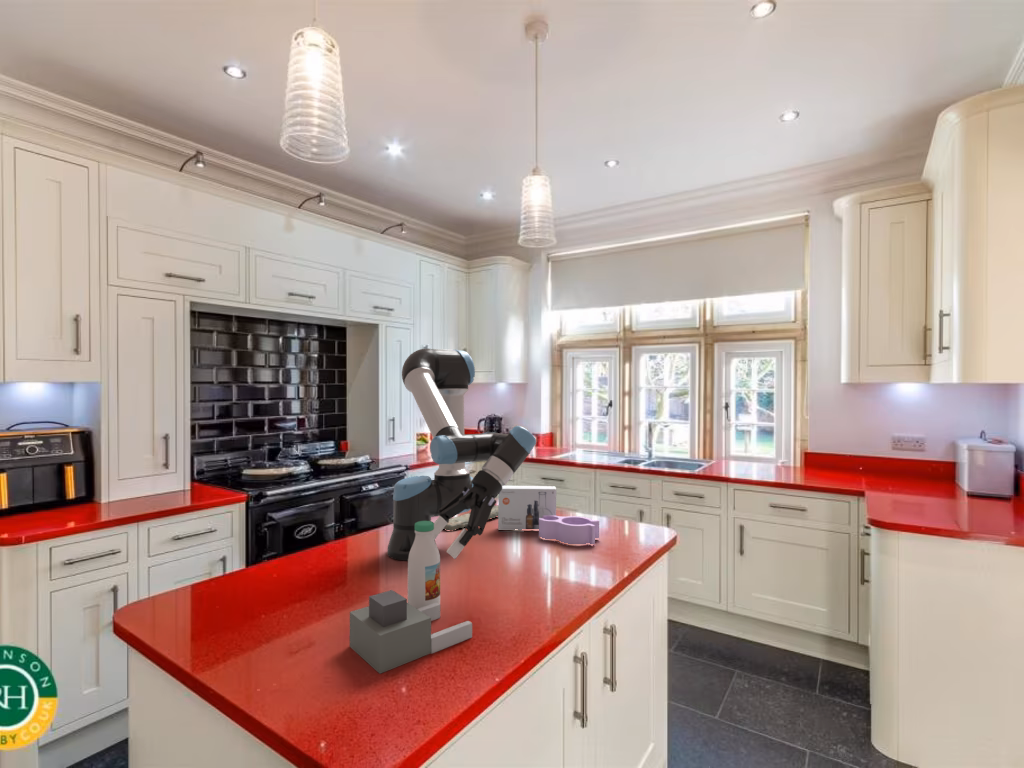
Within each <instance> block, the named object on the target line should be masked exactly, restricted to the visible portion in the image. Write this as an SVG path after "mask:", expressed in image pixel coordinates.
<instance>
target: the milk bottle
mask: <svg viewBox="0 0 1024 768" xmlns="http://www.w3.org/2000/svg"><path fill="white" fill-rule="evenodd" d="M433 532H434V522H433V521H432V520H431V521H419V522H416V523H415V533H416V536H415V540H414V543H413V545H412V547H411V550H410V553H409V558H408V560H407V603H408V604H410V605H412V606H413V607H415V608H416V609H418V608H421V607H424V606H428V605H431V604H434V603H438V604H440V605H441V555H440V551H439V547H438V546H437V543H435V542H436V540H435V541H434V537H433Z"/></svg>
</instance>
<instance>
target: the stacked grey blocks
mask: <svg viewBox="0 0 1024 768" xmlns="http://www.w3.org/2000/svg"><path fill="white" fill-rule="evenodd" d="M440 618H441V603H440V604H438V603H434V604H431V605H428V606H424V607H421V608H418V609H416V608H415V607H413V606H412V605H410V604H408V598H406V597H404V596H402V595H401V594H399V593H397V592H396V591H395V590H393V589H390V590H387V591H384V592H380V593H376V594H372V595H369V596H368V606H365V607H362V608H358V609H356V610H355V609H354V610H352V611H349V647H350V648H351V650H353V651H354V652H355V653H356V654H357V655H358V656H359V657H360V658H362V659H363V660H364V661H365V662H366V664H367V663H368V664H369V666H371V668H373V669H374V670H375V671H376V672H377V673H378V674H382V673H383V674H384V673H385V672H388V671H390V670H393V669H395V668H398V667H400V666H403V665H404V664H407V663H410V662H413V661H415V660H418V659H419V658H422V657H425V656H428V655H430V654H431V655H432V654H435V653H437V652H439V651H442V650H444V649H447V648H450V647H452V646H454V645H457V644H459V643H462V642H464V641H466V640H469V639H471V638H473V623H472V622H471V621H469V620H466V621H464V622H461V623H458V624H456V625H452V626H450V627H447V628H444V629H442V630H439V631H437V632H433V633H432V622H433V621H435V620H437V619H438V620H439V619H440Z"/></svg>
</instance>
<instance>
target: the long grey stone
mask: <svg viewBox="0 0 1024 768" xmlns="http://www.w3.org/2000/svg"><path fill="white" fill-rule="evenodd" d="M496 516H498V505H496V504H495V505H494V507H493V508H492V510H491V513H490V515H489V518H488V519H490V518H495V517H496ZM469 517H470V512H469V513H468V512H466V513H464V514H462V515H459V516H454V517H452V518H450V519H449V523H447V525H446V526H445V527H444V528H443V529H446V530H455V529H458V528H462V529H464V527H466V526H467V525H468V521H469ZM495 519H496V518H495ZM458 530H459V529H458ZM455 531H456V530H455Z"/></svg>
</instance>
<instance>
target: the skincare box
mask: <svg viewBox="0 0 1024 768" xmlns="http://www.w3.org/2000/svg"><path fill="white" fill-rule="evenodd" d="M497 504H498V517H497V519H498V521H497V524H498V525H497V528H498V530H515V529H518V530H522V529H539V518H542V516H544V515H556V516H557V487H556V486H554V485H505V486H502V490H501V491H500V493H499V494H498V503H497Z"/></svg>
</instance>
